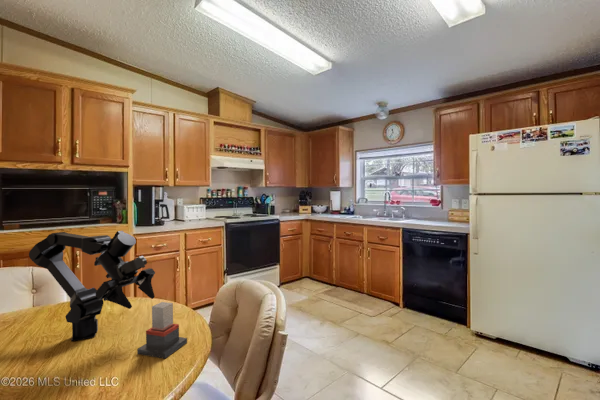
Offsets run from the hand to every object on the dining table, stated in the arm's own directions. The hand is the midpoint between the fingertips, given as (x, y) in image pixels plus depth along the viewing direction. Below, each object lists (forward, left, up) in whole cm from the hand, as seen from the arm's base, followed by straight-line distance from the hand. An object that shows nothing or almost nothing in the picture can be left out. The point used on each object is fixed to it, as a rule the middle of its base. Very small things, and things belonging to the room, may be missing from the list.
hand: (142, 302), depth 96 cm
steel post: (+5, -5, -12) cm, 14 cm away
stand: (+5, -5, -14) cm, 16 cm away
